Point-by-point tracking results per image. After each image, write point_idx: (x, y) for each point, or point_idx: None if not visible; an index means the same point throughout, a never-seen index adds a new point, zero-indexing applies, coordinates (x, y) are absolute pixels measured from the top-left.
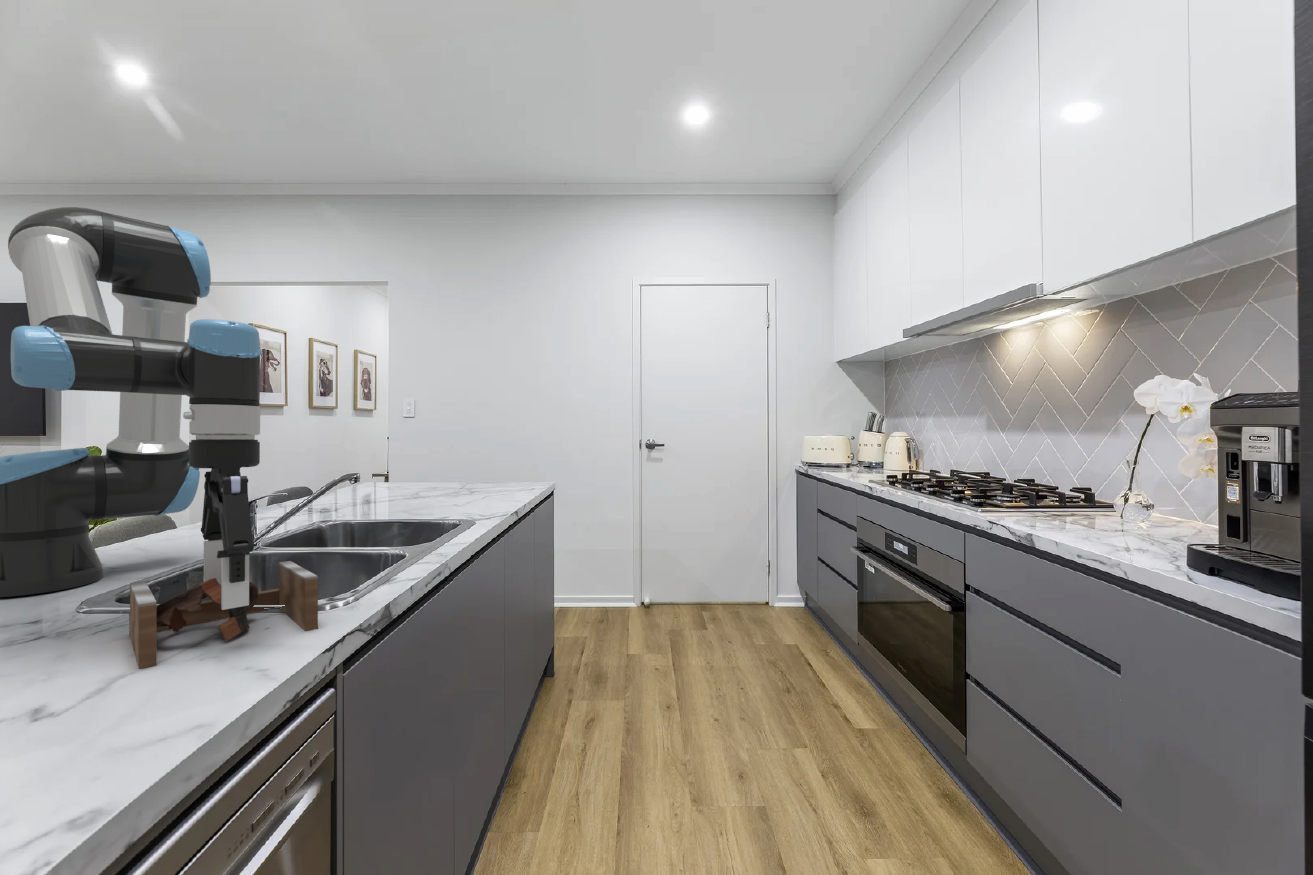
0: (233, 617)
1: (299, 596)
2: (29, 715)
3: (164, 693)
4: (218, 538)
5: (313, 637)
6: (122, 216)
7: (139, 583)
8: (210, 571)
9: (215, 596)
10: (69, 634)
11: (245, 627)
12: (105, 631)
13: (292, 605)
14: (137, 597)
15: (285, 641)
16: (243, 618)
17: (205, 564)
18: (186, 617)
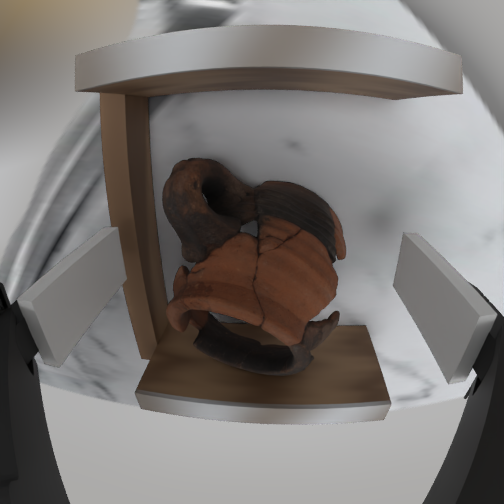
0: (335, 235)
1: (370, 86)
2: (410, 401)
3: None
4: (26, 330)
5: (438, 105)
6: None
7: (157, 403)
8: (103, 289)
9: (327, 297)
10: (100, 368)
11: (316, 197)
12: (107, 344)
13: (283, 84)
14: (314, 422)
15: (422, 150)
16: (310, 205)
17: (95, 314)
18: (155, 277)
